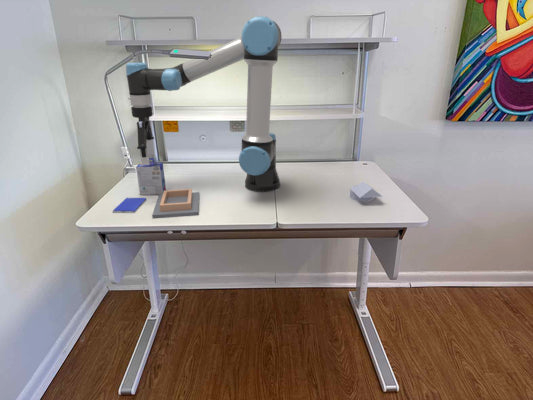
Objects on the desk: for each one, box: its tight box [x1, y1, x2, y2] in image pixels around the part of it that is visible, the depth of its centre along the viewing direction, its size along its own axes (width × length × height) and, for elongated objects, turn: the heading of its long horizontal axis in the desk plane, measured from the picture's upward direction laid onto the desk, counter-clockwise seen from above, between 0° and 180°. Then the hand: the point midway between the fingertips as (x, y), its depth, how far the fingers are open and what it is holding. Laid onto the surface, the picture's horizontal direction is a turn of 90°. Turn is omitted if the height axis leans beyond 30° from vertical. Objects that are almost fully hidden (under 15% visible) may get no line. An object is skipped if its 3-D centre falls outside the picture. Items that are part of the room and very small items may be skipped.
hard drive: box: [112, 197, 147, 214], centre depth 138 cm, size 2×8×12 cm
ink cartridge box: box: [135, 157, 167, 196], centre depth 149 cm, size 10×6×14 cm, turn 93°
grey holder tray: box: [151, 188, 200, 219], centre depth 138 cm, size 16×20×4 cm
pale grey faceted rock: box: [349, 181, 382, 202], centre depth 141 cm, size 9×7×13 cm
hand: (148, 160), depth 146 cm, fingers open, 13 cm apart
